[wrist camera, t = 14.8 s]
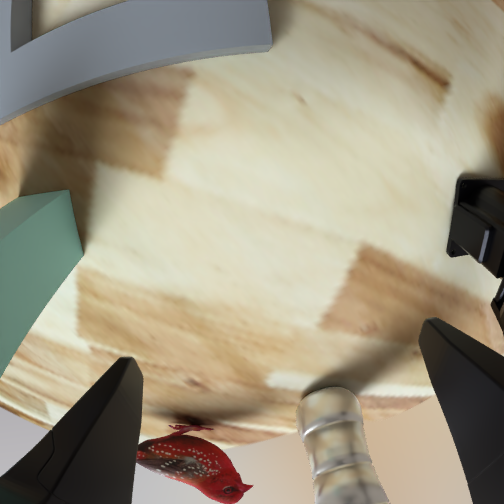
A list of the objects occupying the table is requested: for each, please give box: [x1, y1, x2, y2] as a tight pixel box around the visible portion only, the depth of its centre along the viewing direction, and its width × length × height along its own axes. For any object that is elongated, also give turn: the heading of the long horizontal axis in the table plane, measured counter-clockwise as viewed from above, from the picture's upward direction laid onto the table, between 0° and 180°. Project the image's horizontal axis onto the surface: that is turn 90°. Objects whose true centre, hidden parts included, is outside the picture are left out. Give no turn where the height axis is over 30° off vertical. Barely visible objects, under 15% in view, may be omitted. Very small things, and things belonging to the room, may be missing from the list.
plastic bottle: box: [296, 387, 390, 504], centre depth 20 cm, size 6×7×20 cm
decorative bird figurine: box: [136, 425, 253, 504], centre depth 26 cm, size 3×18×10 cm, turn 87°
